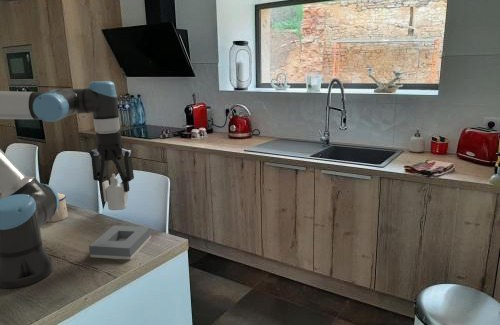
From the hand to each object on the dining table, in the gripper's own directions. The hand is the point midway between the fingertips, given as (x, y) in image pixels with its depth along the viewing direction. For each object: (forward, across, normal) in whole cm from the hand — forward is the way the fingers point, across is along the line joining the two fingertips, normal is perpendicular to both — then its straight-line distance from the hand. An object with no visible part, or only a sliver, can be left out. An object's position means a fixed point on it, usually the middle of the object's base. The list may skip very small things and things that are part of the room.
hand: (116, 200), depth 127 cm
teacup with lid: (+17, +39, -20) cm, 47 cm away
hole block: (+17, 0, 0) cm, 17 cm away
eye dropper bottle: (+3, 0, 0) cm, 3 cm away
